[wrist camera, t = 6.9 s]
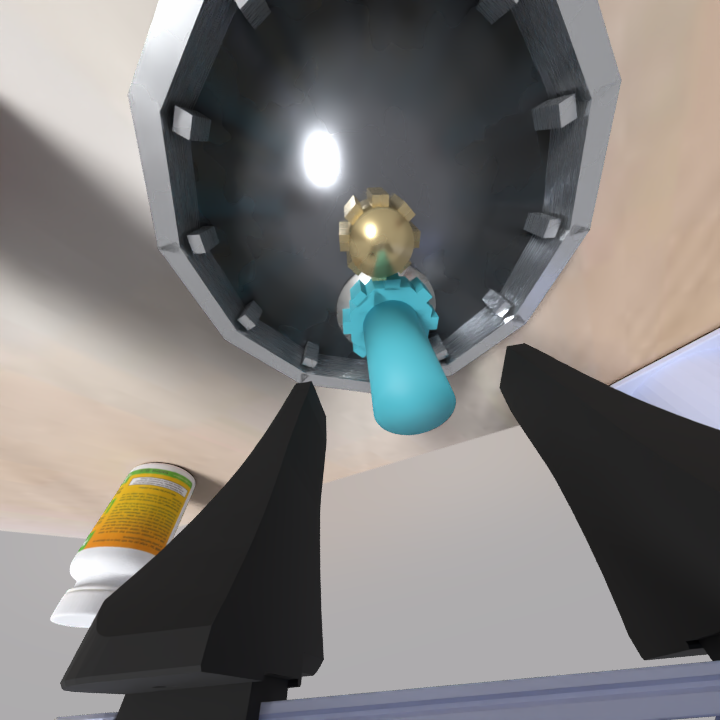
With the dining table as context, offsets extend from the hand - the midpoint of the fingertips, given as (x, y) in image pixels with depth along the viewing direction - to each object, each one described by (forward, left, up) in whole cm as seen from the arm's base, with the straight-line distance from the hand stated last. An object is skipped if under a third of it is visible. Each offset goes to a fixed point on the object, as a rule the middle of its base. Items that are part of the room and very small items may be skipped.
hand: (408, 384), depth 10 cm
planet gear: (0, 0, -6) cm, 6 cm away
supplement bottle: (+3, +26, -7) cm, 27 cm away
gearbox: (+4, -2, -7) cm, 8 cm away
